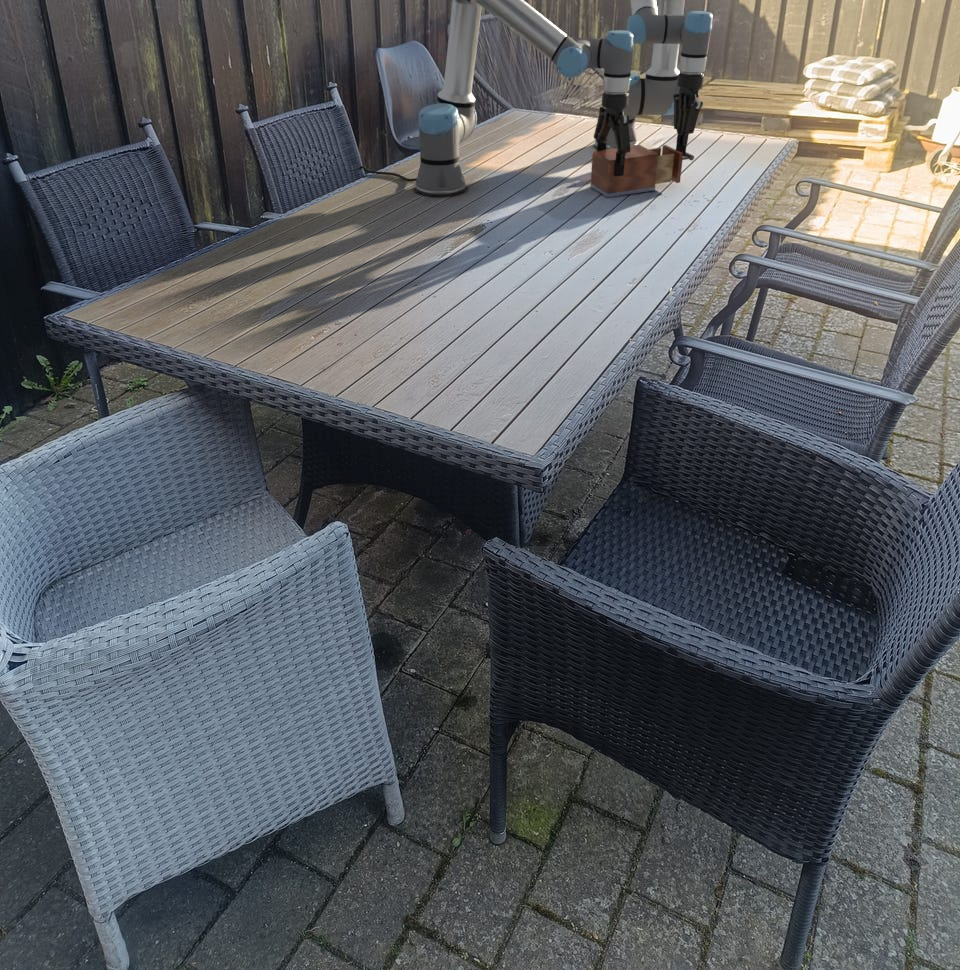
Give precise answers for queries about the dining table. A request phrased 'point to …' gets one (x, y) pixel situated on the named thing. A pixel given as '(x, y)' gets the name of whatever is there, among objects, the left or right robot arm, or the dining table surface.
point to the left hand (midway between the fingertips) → (609, 170)
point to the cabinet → (636, 171)
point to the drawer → (669, 164)
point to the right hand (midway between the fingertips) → (680, 155)
